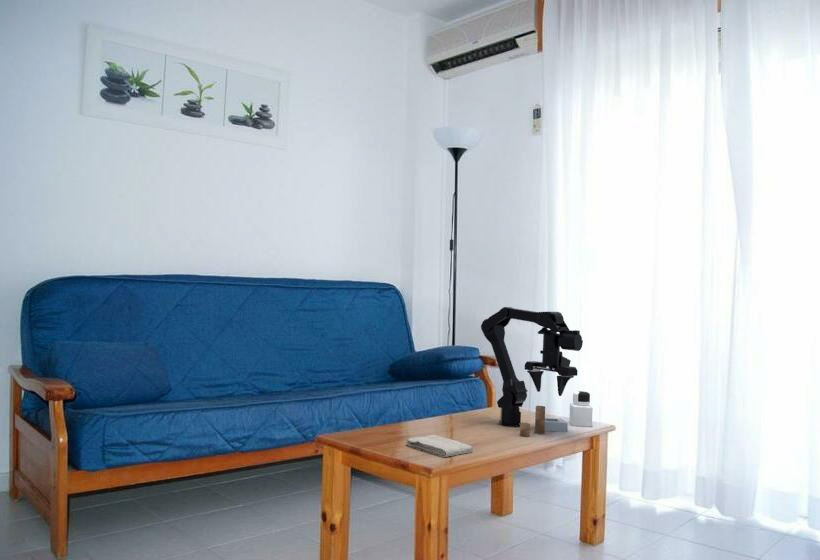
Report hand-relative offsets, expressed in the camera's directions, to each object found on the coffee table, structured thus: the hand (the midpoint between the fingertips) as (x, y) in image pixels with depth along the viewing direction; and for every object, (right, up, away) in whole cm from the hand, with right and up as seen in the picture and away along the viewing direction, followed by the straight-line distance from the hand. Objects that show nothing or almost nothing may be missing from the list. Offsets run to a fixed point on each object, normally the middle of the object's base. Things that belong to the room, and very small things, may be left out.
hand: (549, 393), depth 221 cm
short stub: (-10, -13, -8) cm, 18 cm away
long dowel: (-4, -13, -3) cm, 14 cm away
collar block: (+2, -13, +6) cm, 15 cm away
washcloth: (-39, -12, -31) cm, 51 cm away
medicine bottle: (+15, -14, +16) cm, 26 cm away
